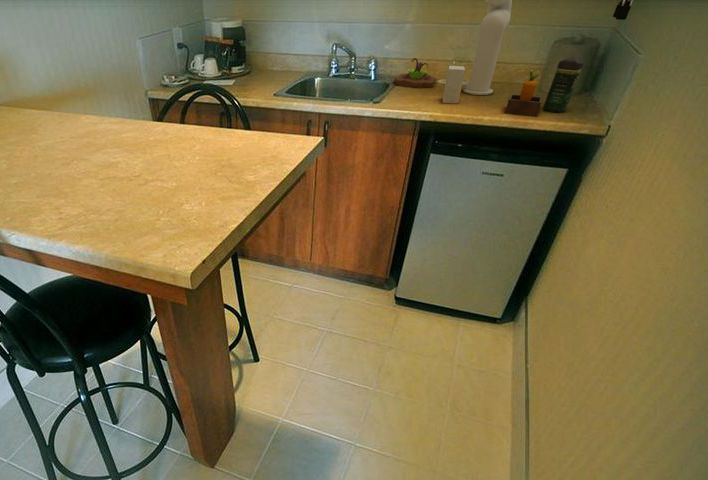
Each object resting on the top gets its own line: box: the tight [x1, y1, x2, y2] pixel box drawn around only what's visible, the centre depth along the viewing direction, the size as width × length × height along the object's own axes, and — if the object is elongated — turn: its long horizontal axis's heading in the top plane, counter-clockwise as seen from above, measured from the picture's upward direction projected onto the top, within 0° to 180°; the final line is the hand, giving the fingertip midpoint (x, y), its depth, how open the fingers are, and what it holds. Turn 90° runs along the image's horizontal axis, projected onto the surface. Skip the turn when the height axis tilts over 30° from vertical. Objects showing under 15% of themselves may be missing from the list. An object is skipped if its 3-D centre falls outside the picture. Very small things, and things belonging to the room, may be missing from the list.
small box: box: [442, 65, 466, 104], centre depth 171 cm, size 8×6×13 cm
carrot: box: [519, 69, 541, 101], centre depth 156 cm, size 5×5×15 cm
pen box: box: [504, 93, 543, 117], centre depth 159 cm, size 11×9×5 cm
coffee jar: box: [542, 56, 585, 113], centre depth 157 cm, size 10×8×19 cm
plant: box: [394, 57, 437, 89], centre depth 199 cm, size 20×20×11 cm
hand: (618, 18), depth 151 cm, fingers open, 9 cm apart
